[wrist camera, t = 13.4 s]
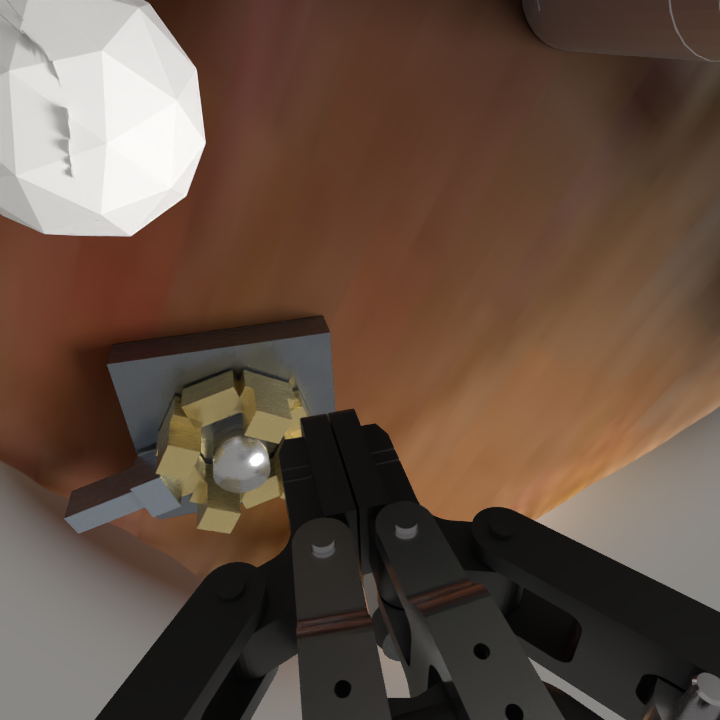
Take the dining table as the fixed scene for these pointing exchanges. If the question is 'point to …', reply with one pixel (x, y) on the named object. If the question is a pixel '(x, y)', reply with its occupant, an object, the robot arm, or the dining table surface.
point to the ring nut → (197, 456)
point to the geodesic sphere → (94, 116)
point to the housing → (207, 360)
